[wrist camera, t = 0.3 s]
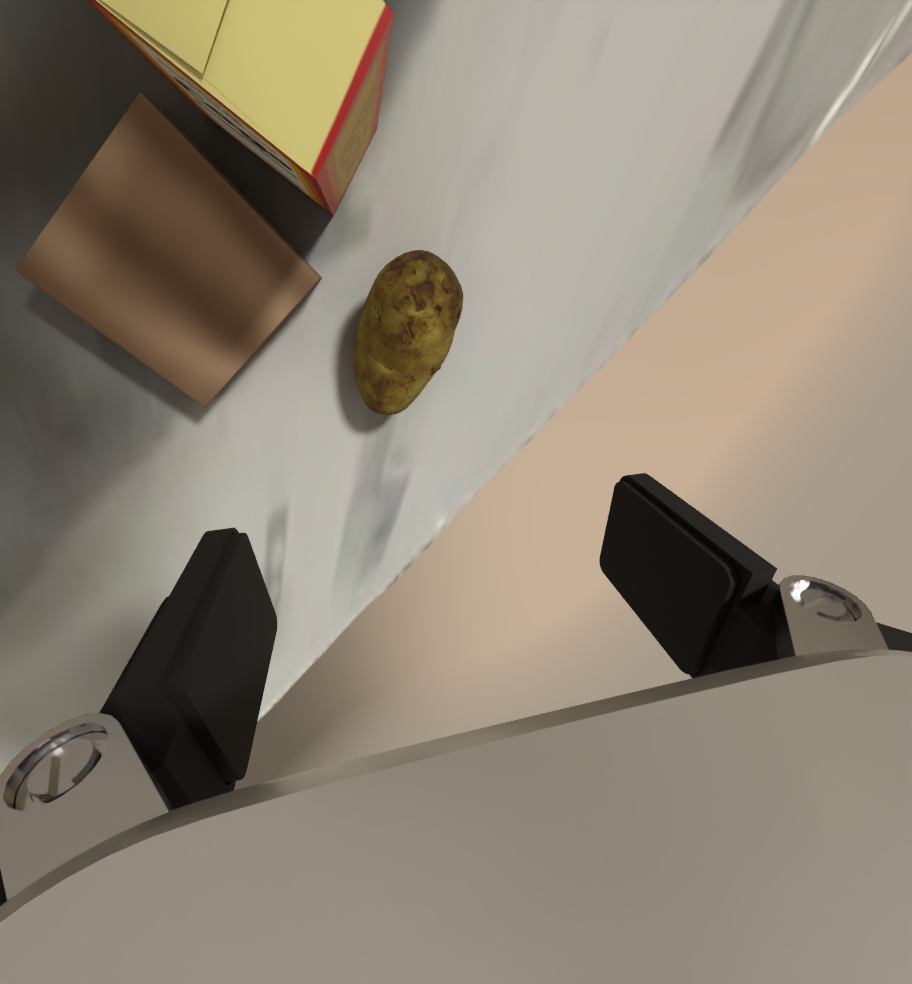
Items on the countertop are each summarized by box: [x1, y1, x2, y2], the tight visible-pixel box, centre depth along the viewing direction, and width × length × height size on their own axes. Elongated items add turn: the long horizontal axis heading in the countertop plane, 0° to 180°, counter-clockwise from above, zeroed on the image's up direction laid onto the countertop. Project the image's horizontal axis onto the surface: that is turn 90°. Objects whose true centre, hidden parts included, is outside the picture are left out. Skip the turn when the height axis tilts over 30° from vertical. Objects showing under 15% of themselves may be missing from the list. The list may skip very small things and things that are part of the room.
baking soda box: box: [88, 0, 394, 216], centre depth 21 cm, size 10×6×16 cm
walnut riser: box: [15, 92, 322, 407], centre depth 29 cm, size 14×13×3 cm
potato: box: [353, 250, 463, 415], centre depth 32 cm, size 8×13×8 cm, turn 138°
